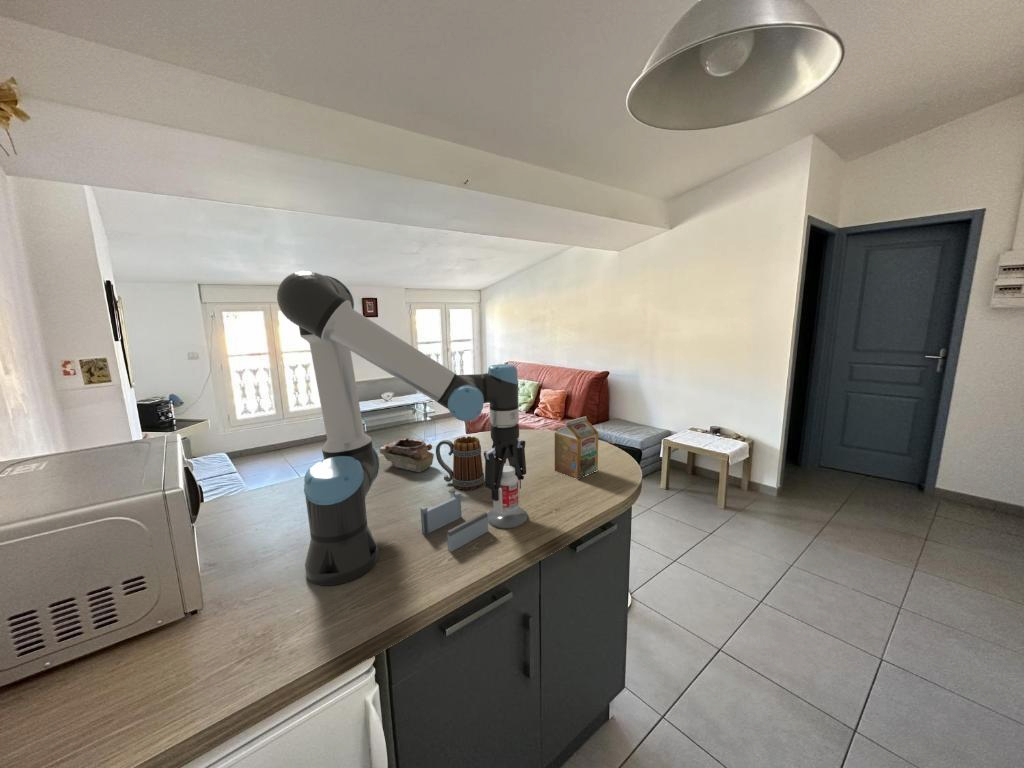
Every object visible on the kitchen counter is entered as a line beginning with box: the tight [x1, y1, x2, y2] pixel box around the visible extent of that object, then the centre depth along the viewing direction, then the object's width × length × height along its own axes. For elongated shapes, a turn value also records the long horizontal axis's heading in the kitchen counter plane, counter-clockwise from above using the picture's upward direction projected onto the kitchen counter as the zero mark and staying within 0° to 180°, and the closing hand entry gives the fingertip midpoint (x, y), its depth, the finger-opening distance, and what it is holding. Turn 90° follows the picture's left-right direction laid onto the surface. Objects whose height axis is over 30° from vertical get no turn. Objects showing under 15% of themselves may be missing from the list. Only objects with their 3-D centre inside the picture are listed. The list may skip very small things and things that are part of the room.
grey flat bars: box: [420, 491, 489, 553], centre depth 100 cm, size 12×12×7 cm
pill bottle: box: [500, 465, 519, 512], centre depth 106 cm, size 6×6×11 cm
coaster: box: [487, 506, 528, 530], centre depth 107 cm, size 11×11×1 cm
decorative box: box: [379, 437, 435, 473], centre depth 144 cm, size 13×20×10 cm, turn 57°
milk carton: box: [554, 416, 599, 480], centre depth 136 cm, size 11×11×19 cm
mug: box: [435, 435, 485, 491], centre depth 129 cm, size 16×11×15 cm
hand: (507, 505), depth 107 cm, fingers closed on pill bottle, 6 cm apart
